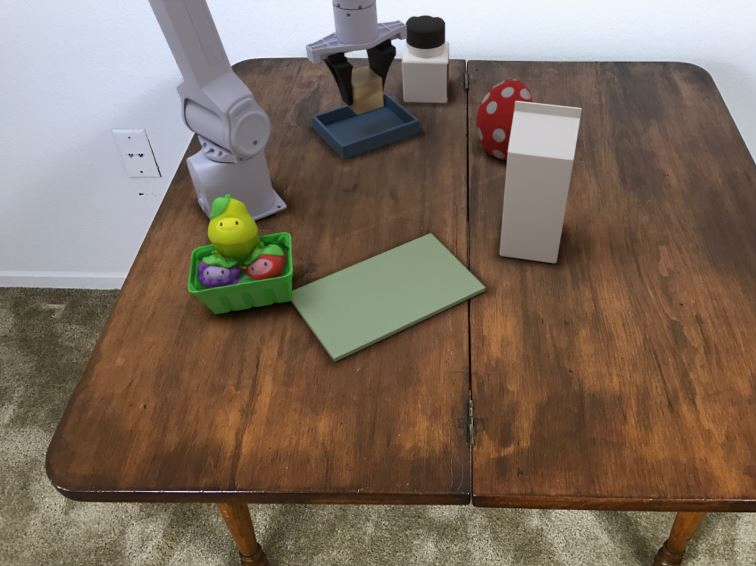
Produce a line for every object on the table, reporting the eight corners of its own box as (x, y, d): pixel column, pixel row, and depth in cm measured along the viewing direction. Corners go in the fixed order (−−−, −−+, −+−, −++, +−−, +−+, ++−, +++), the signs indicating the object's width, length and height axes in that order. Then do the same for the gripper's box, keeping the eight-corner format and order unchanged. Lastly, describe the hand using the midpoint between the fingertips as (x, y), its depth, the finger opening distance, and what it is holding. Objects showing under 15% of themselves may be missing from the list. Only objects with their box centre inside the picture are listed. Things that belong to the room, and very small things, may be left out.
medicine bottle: (447, 104, 109) (448, 29, 100) (403, 104, 109) (400, 28, 100) (448, 82, 113) (449, 9, 104) (406, 82, 113) (403, 8, 105)
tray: (343, 161, 98) (342, 146, 96) (313, 130, 103) (311, 115, 102) (420, 134, 103) (419, 120, 101) (387, 106, 108) (386, 92, 106)
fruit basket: (202, 325, 76) (164, 249, 68) (206, 272, 82) (172, 197, 74) (303, 307, 77) (278, 230, 69) (300, 257, 83) (277, 180, 75)
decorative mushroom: (587, 78, 97) (498, 56, 90) (595, 150, 95) (505, 134, 88) (542, 115, 107) (458, 98, 100) (549, 181, 105) (464, 168, 98)
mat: (334, 362, 73) (333, 358, 72) (287, 296, 79) (286, 292, 79) (485, 291, 80) (485, 287, 80) (430, 236, 87) (430, 232, 86)
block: (357, 115, 97) (354, 86, 94) (343, 102, 100) (339, 73, 97) (383, 106, 99) (381, 78, 96) (369, 93, 102) (366, 65, 98)
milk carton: (556, 264, 83) (579, 126, 69) (499, 256, 84) (510, 118, 70) (561, 228, 88) (584, 92, 74) (507, 221, 89) (519, 85, 75)
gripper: (386, -21, 94) (392, 73, 104) (290, 2, 88) (305, 99, 98) (413, -3, 90) (416, 93, 100) (314, 22, 84) (327, 121, 94)
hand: (363, 97), depth 99 cm, fingers closed on block, 4 cm apart
